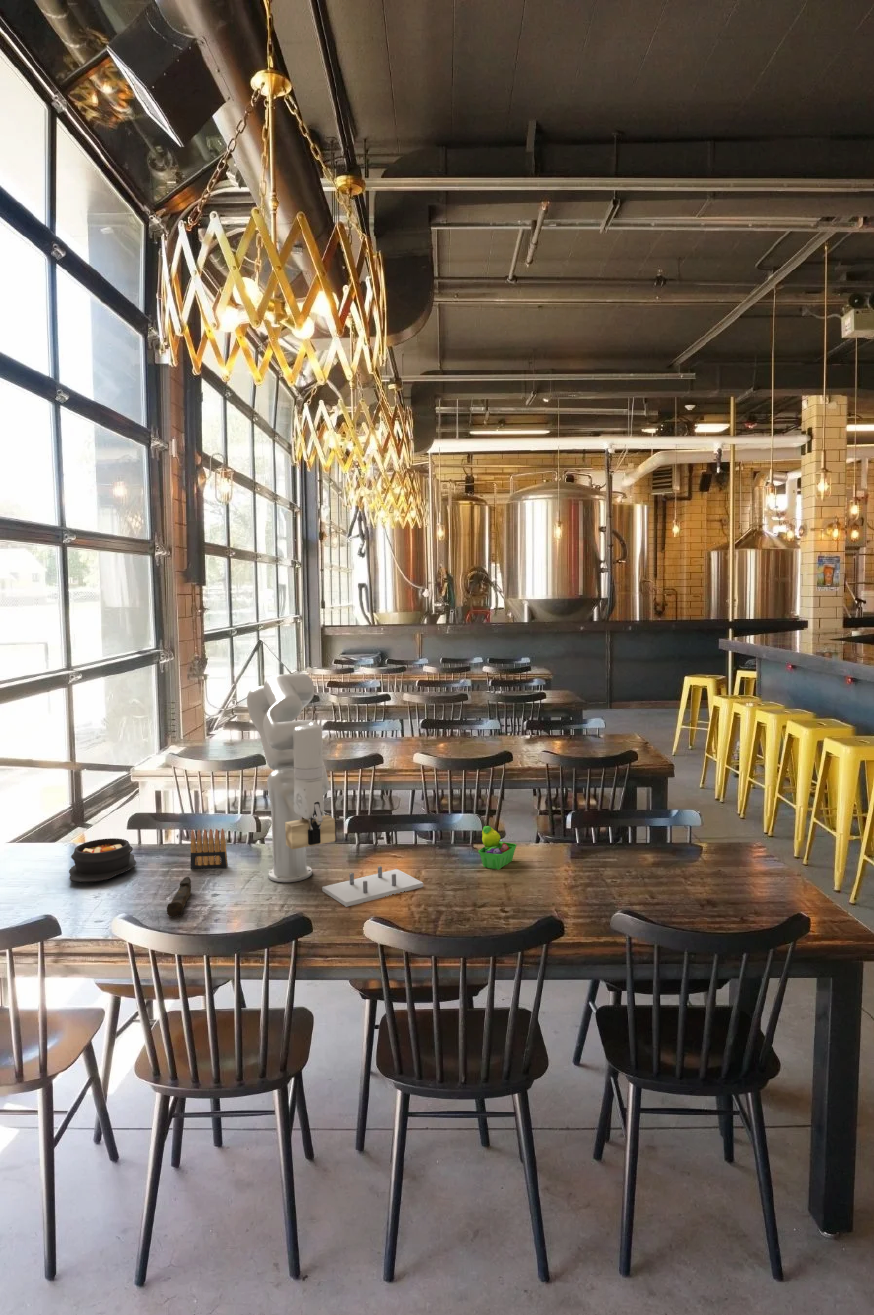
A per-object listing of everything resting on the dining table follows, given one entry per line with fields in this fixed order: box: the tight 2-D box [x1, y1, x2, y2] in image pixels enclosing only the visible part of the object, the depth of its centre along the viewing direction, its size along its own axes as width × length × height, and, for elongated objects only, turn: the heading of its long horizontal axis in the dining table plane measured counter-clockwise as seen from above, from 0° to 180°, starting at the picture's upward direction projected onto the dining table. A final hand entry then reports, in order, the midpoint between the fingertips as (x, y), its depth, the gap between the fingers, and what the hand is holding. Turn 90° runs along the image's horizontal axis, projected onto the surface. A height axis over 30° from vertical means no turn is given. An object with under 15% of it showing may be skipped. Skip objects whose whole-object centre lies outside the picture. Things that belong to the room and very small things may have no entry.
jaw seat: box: [321, 865, 424, 908], centre depth 224 cm, size 14×24×4 cm, turn 124°
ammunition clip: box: [190, 828, 228, 871], centre depth 244 cm, size 11×2×12 cm, turn 93°
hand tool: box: [166, 876, 192, 917], centre depth 217 cm, size 19×4×5 cm, turn 4°
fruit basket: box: [477, 825, 518, 870], centre depth 243 cm, size 11×9×11 cm
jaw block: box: [285, 814, 336, 849], centre depth 213 cm, size 4×12×6 cm, turn 121°
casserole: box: [68, 837, 137, 883], centre depth 241 cm, size 25×19×8 cm
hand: (310, 840), depth 213 cm, fingers closed on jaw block, 4 cm apart
